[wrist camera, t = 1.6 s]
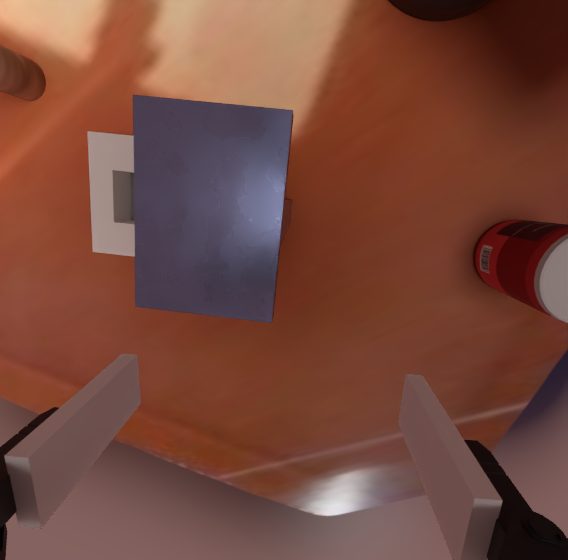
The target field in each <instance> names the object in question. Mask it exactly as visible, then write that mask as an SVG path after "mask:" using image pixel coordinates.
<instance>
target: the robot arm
mask: <svg viewBox="0 0 568 560" xmlns="http://www.w3.org/2000/svg"><path fill="white" fill-rule="evenodd" d="M390 1H391V2H392V3H393V4H394V5H395V6H396V7H398V8H399V9H401V10H402V11H404V12H406V13H407V14H409V15H412V16H414V17H417V18H421V19H425V20H434V21H442V20H451V19H455V18H459V17H462V16H465V15H468V14H470V13H472V12H474V11H476V10H478V9H480V8H481V7H483V6H484V5H486V4H487V3H489V2H490V1H491V0H390ZM140 404H141V397H140V384H139V371H138V358H137V355H132V354H122V355H120V356H119V357H118V358H117V359H116V360H115V361H113V362H112V363H111V364H110V365H109V366H108V367H106V368H105V369H104V370H103V371H102V372H101V373H99V374H98V375H97V376H96V377H95V378H94V379H93V380H91V381H90V382H89V383H88V384H87V385H86V386H84V387H83V388H82V389H81V390H80V391H79V392H77V393H76V394H75V395H74V396H73V397H72V398H71V399H69V400H68V401H67V402H66V403H65V404H64V405H62V406H61V407H60V408H57V407H54V408H52V409H50V410H48V411H46V412H44V413H42V414H40V415H39V416H38V417H36V418H35V419H34V420H33V421H32V422H30V423H29V424H28V426H26V427H24V428H23V429H22V430H21V431H19V433H18V434H16V435H15V436H13V437H12V438H11V439H10V440H8V441H7V442H6V443H5V444H4V445H2V446H1V447H0V560H5V556H6V541H7V540H6V539H7V528H6V524H5V523H6V522H7V521H8V520H9V519H10V518H11V517H12V515H13V514H14V513H15V512H16V515H17V520H18V525H19V526H20V527H30V528H40V529H42V527H43V526H44V525H45V524H46V522H47V521H48V520H49V518H50V517H51V516H52V515H53V513H54V512H55V511H56V510H57V508H58V507H59V506H60V505H61V503H62V502H63V501H64V500H65V498H66V497H67V495H69V493H70V492H71V491H72V490H73V488H74V487H75V486H76V484H77V483H78V482H79V481H80V479H81V478H82V477H83V476H84V474H85V473H86V472H87V471H88V469H89V468H90V467H91V465H92V464H93V463H94V462H95V461H96V459H97V458H98V457H99V456H100V454H101V453H102V452H103V451H104V449H105V448H106V447H107V445H108V444H109V443H110V442H111V440H112V439H113V438H114V437H115V435H116V434H117V433H118V432H119V430H120V429H121V428H122V427H123V425H124V424H125V423H126V422H127V420H128V419H129V418H130V417H131V415H132V414H133V413H134V411H135V410H136V409H137V408H138V406H139V405H140ZM398 424H399V427H400V429H401V432H402V434H403V437H404V439H405V442H406V444H407V447H408V449H409V452H410V454H411V457H412V459H413V462H414V464H415V467H416V469H417V472H418V474H419V477H420V479H421V482H422V484H423V487H424V489H425V492H426V494H427V497H428V499H429V501H430V504H431V506H432V509H433V511H434V514H435V516H436V519H437V521H438V524H439V526H440V529H441V531H442V534H443V536H444V539H445V541H446V544H447V546H448V549H449V551H450V554H451V556H452V559H453V560H487V559H488V560H568V538H566V536H565V535H564V533H563V532H562V531H561V530H560V529H559V528H558V527H557V526H556V525H555V524H554V523H553V522H552V521H550V520H549V519H547V518H545V517H544V516H543V515H540V514H538V513H536V512H533V511H532V509H531V508H530V507H529V505H528V504H527V502H526V501H525V500H524V498H523V497H522V495H521V494H520V493H519V491H518V490H517V489H516V487H515V486H514V484H513V483H512V481H511V480H510V479H509V477H508V476H506V473H505V472H504V470H503V469H502V467H501V466H499V463H498V462H497V460H496V459H495V458H494V456H493V455H492V453H491V452H490V451H489V450H488V449H486V448H485V447H484V446H483V445H482V444H480V443H479V442H478V441H473V440H463V438H462V436H461V435H460V433H459V432H458V430H457V429H456V427H455V426H454V424H453V422H452V421H451V419H450V418H449V416H448V415H447V413H446V412H445V410H444V408H443V407H442V405H441V404H440V402H439V401H438V399H437V398H436V396H435V394H434V393H433V391H432V390H431V388H430V387H429V385H428V384H427V382H426V380H425V379H424V377H423V376H422V375H411V374H406V376H405V383H404V390H403V396H402V403H401V409H400V416H399V423H398Z"/></svg>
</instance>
